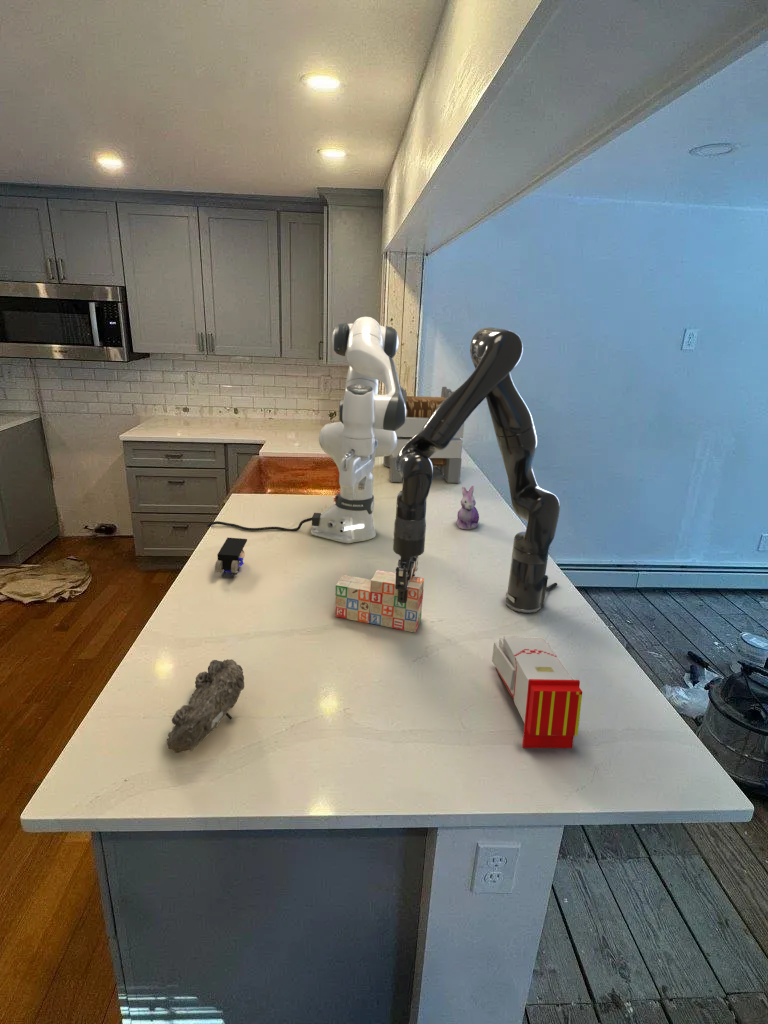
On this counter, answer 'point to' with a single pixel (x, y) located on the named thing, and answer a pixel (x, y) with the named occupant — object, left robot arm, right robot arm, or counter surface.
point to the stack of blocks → (380, 601)
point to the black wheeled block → (230, 556)
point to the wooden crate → (415, 420)
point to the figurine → (468, 510)
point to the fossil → (206, 705)
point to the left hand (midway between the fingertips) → (356, 494)
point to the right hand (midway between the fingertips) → (405, 595)
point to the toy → (539, 691)
